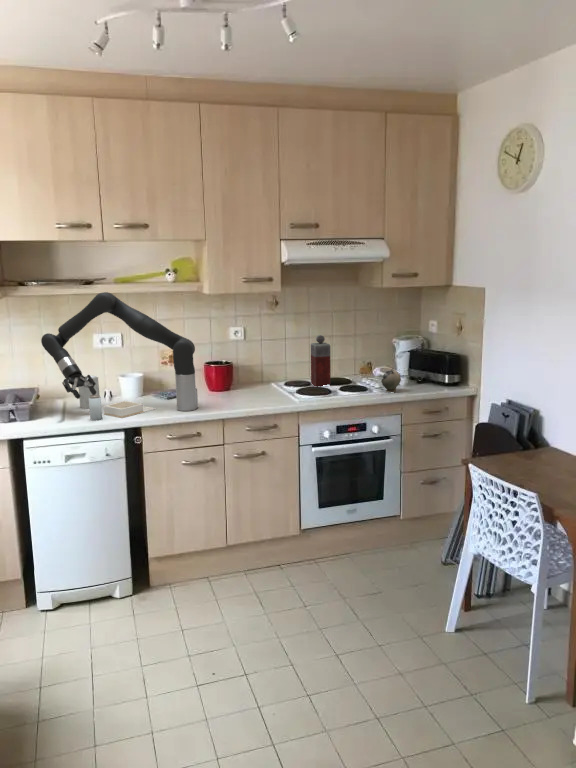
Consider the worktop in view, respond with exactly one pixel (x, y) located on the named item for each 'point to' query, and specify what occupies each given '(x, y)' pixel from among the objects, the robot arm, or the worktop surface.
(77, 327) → the robot arm
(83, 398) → the skincare box
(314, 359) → the red and grey bottle
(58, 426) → the worktop surface
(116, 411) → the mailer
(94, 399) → the jar
